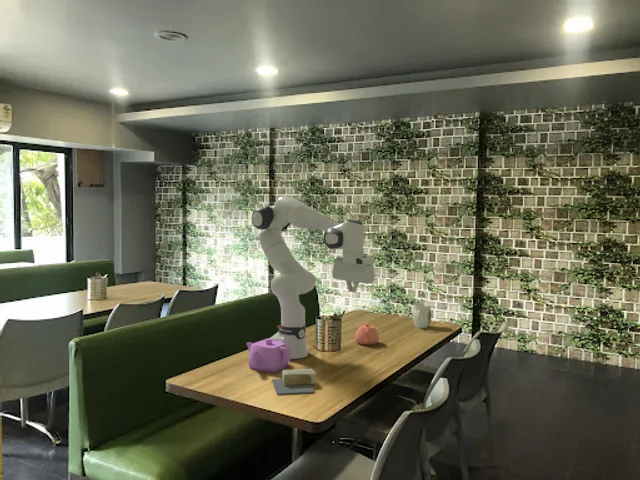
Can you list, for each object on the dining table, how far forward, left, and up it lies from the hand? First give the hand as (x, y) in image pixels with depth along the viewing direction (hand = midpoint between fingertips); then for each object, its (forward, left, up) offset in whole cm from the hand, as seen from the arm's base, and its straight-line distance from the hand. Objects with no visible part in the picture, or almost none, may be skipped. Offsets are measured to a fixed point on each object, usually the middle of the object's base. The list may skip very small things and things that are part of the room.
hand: (352, 291), depth 217 cm
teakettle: (-29, -21, -34) cm, 50 cm away
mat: (-4, -30, -34) cm, 45 cm away
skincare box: (-1, -21, -31) cm, 38 cm away
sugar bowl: (-24, +42, -34) cm, 59 cm away
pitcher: (-25, +95, -34) cm, 104 cm away
